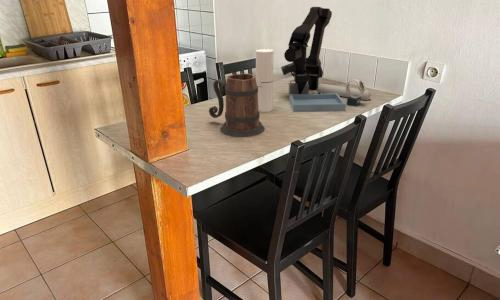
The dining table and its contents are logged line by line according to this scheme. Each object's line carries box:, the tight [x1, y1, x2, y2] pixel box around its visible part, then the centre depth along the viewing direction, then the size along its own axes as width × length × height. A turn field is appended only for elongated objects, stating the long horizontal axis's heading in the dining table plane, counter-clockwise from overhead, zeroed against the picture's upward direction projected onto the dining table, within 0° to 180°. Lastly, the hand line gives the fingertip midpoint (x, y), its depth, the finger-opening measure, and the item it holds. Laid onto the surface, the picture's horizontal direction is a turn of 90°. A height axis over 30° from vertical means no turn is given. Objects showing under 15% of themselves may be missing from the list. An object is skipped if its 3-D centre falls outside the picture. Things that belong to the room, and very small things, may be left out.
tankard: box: [208, 73, 266, 138], centre depth 138 cm, size 24×17×20 cm
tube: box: [316, 82, 371, 101], centre depth 176 cm, size 5×5×25 cm
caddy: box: [287, 79, 310, 99], centre depth 177 cm, size 5×9×8 cm, turn 90°
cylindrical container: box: [255, 48, 274, 113], centre depth 156 cm, size 7×7×25 cm
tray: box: [288, 93, 347, 113], centre depth 164 cm, size 16×22×3 cm
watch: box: [345, 78, 366, 107], centre depth 163 cm, size 6×8×11 cm
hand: (298, 91), depth 177 cm, fingers open, 9 cm apart
